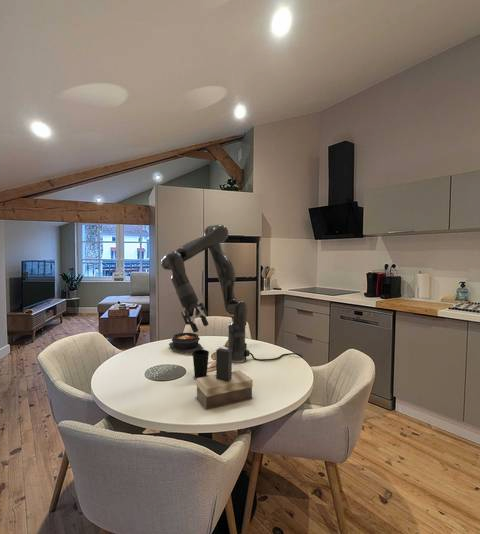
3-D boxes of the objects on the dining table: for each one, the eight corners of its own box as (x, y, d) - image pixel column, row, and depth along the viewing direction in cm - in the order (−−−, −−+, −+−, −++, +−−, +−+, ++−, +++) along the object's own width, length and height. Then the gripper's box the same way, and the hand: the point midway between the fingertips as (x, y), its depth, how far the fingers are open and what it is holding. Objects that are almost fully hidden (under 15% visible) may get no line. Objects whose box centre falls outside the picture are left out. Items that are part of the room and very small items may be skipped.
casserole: (210, 350, 186) (210, 337, 186) (184, 358, 174) (184, 343, 174) (186, 341, 205) (186, 329, 204) (161, 347, 192) (161, 334, 192)
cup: (211, 375, 150) (211, 350, 149) (205, 381, 143) (205, 355, 142) (196, 373, 153) (196, 348, 152) (189, 379, 145) (189, 353, 145)
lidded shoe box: (239, 388, 136) (239, 370, 136) (252, 399, 126) (252, 379, 126) (196, 397, 127) (196, 378, 127) (206, 409, 117) (206, 389, 117)
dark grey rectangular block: (220, 376, 129) (220, 347, 128) (232, 379, 126) (232, 349, 126) (216, 379, 126) (216, 349, 126) (228, 381, 123) (228, 352, 123)
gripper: (183, 295, 129) (199, 331, 128) (201, 288, 142) (216, 321, 141) (170, 301, 133) (186, 336, 132) (189, 294, 145) (203, 326, 144)
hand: (201, 328), depth 136 cm, fingers open, 8 cm apart
